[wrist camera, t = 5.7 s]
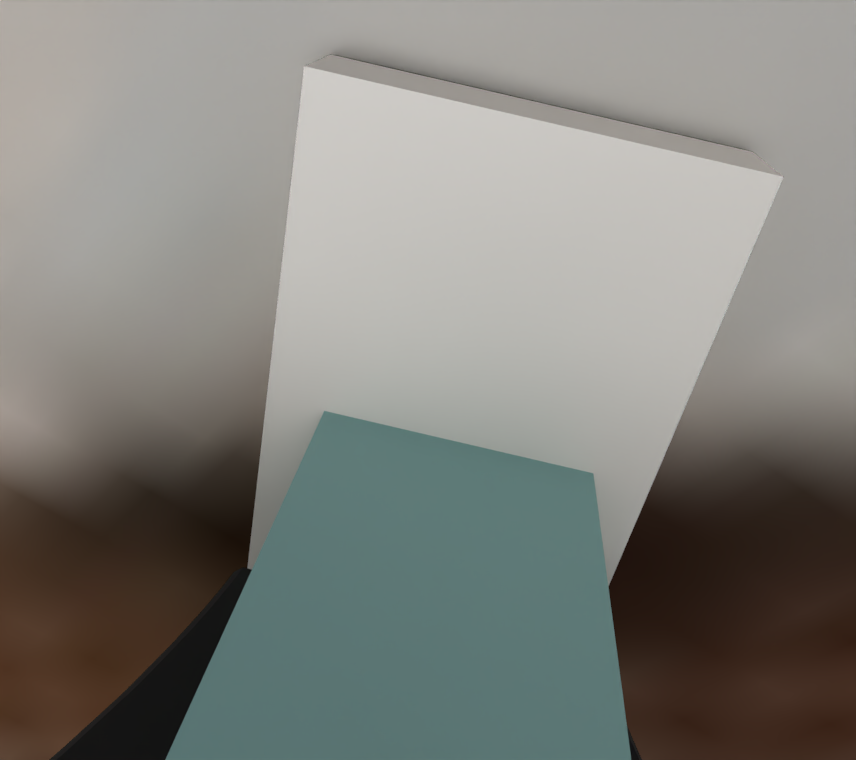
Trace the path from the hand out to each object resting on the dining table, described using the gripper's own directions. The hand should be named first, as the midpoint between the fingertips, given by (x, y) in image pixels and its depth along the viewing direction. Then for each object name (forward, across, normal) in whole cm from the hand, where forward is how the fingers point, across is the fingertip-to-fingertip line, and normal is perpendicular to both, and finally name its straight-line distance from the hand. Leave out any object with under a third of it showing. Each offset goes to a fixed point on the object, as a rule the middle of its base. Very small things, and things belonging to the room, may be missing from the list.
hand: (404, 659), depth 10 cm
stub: (+2, 0, 0) cm, 2 cm away
